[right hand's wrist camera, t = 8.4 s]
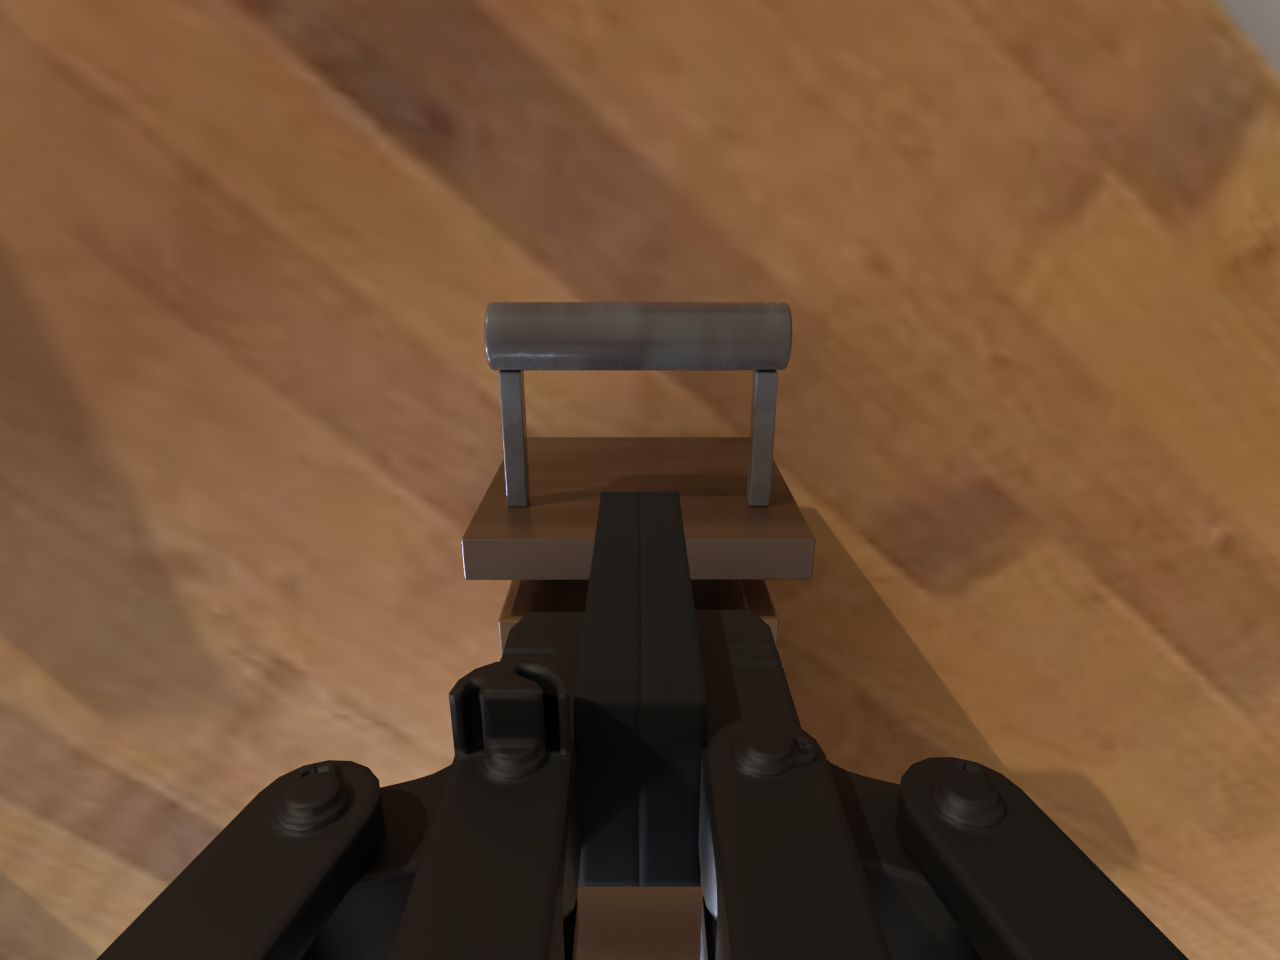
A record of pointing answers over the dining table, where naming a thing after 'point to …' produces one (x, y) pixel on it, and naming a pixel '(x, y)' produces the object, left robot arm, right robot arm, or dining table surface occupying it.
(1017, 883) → the right robot arm
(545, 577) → the drawer
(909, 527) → the dining table surface
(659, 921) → the cabinet
